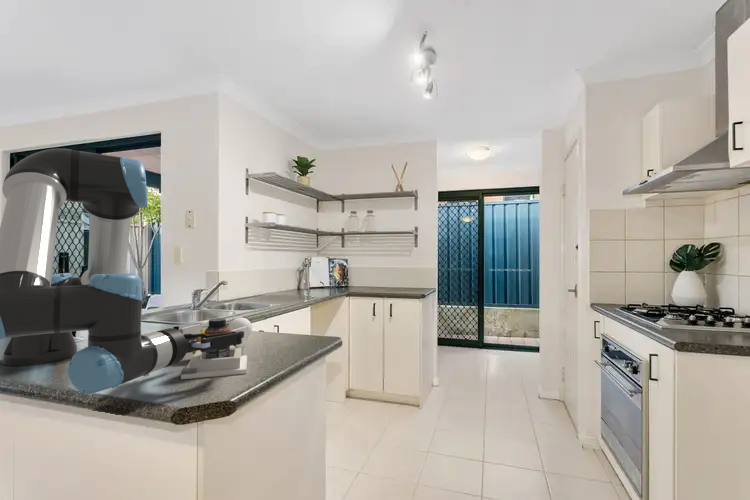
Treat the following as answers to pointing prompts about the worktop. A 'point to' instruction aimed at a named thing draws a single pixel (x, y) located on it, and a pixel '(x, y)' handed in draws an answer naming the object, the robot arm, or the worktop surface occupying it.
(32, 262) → the robot arm
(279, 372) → the worktop surface
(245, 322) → the lightbulb
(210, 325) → the supplement bottle
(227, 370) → the socket
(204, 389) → the worktop surface
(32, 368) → the worktop surface
